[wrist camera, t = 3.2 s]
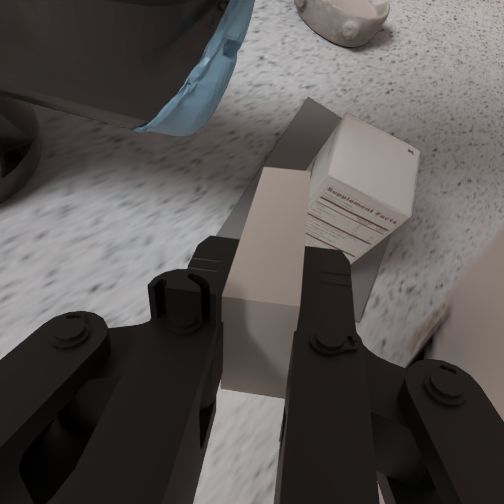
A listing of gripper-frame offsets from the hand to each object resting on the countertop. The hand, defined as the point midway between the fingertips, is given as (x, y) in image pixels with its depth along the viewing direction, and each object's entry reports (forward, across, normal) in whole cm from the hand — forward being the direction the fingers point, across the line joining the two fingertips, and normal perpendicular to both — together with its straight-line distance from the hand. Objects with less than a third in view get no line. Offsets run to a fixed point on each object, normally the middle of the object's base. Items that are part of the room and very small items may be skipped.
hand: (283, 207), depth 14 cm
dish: (+60, +2, +1) cm, 60 cm away
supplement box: (+25, +2, -16) cm, 30 cm away
